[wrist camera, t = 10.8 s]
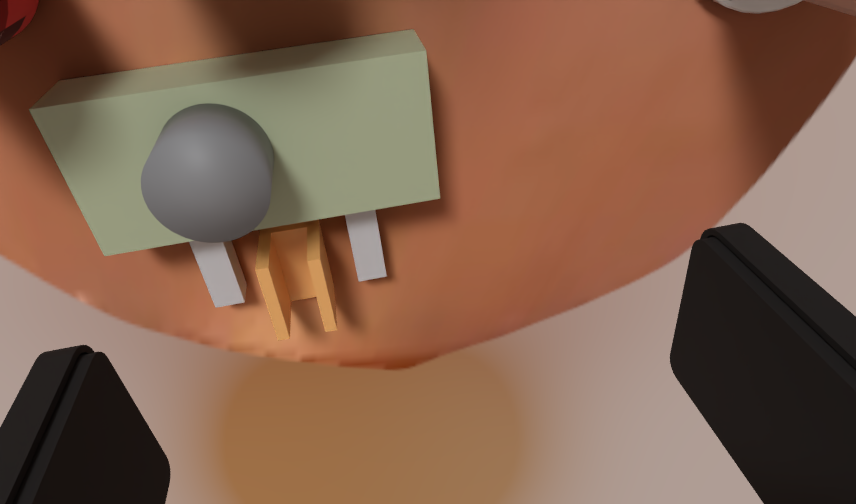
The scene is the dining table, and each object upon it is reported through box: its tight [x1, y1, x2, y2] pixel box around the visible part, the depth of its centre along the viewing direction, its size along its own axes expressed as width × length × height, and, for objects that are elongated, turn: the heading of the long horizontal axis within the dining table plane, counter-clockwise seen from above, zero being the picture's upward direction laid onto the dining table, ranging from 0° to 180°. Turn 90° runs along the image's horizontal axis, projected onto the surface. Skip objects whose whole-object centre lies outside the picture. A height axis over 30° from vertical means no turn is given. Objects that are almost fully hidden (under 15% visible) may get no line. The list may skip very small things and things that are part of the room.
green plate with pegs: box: [29, 29, 440, 307], centre depth 34 cm, size 20×16×8 cm
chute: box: [255, 219, 337, 341], centre depth 40 cm, size 4×6×5 cm, turn 5°
